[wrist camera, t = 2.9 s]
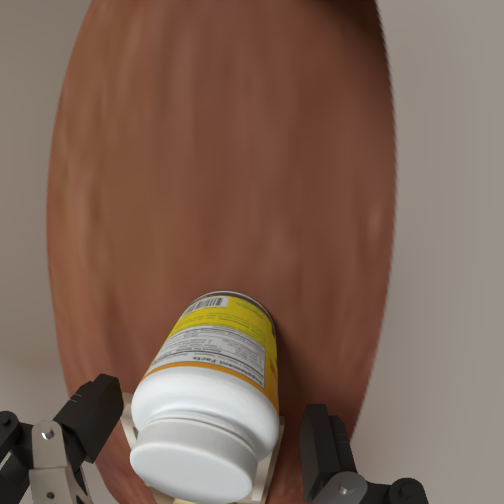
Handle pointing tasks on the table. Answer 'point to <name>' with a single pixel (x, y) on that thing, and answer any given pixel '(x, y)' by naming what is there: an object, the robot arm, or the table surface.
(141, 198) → the table surface
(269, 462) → the board
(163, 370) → the supplement bottle
